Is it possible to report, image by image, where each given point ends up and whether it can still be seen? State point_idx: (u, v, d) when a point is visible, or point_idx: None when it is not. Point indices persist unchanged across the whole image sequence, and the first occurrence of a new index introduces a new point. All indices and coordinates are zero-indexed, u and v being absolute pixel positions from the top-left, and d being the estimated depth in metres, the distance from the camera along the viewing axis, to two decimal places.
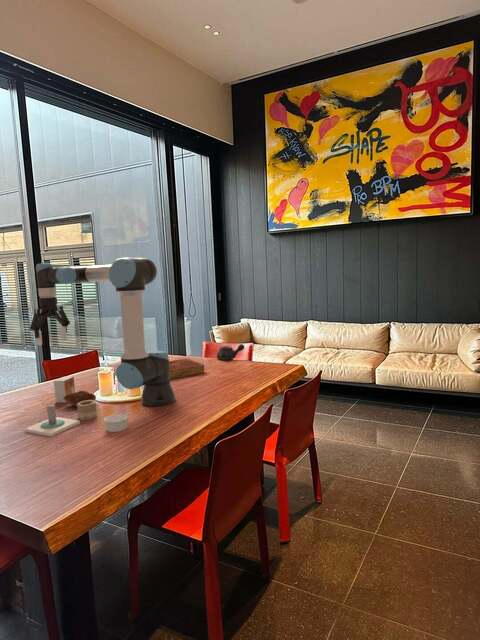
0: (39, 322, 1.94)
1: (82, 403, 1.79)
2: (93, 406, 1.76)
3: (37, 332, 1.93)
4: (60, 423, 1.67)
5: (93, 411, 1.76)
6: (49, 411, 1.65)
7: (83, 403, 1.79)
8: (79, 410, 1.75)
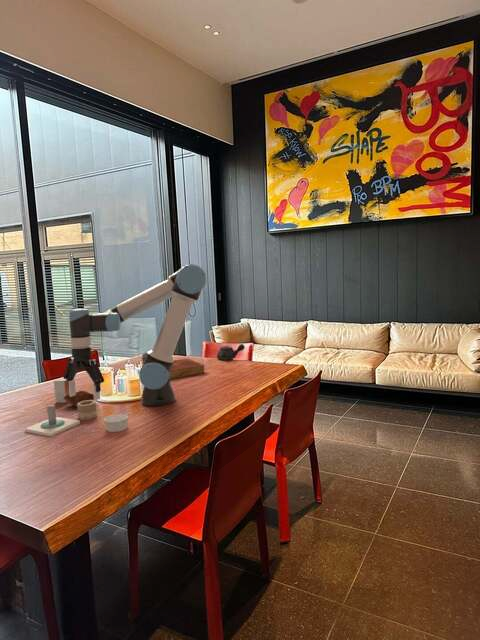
0: None
1: (82, 403, 1.79)
2: (93, 406, 1.76)
3: (68, 382, 1.79)
4: (60, 423, 1.67)
5: (93, 411, 1.76)
6: (49, 411, 1.65)
7: (83, 403, 1.79)
8: (79, 410, 1.75)
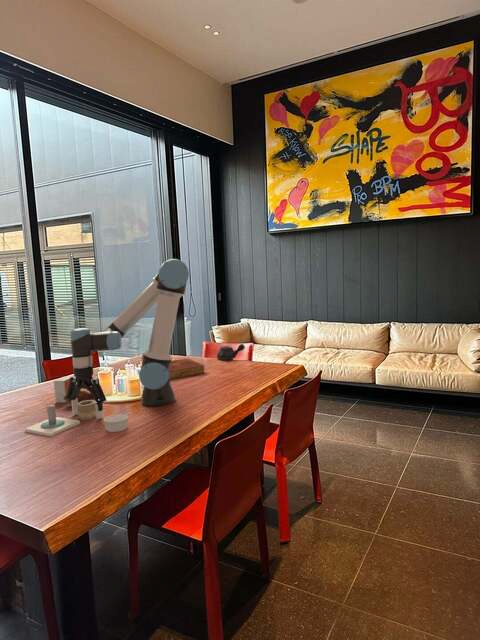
0: None
1: (82, 403, 1.79)
2: (93, 406, 1.76)
3: None
4: (60, 423, 1.67)
5: (93, 411, 1.76)
6: (49, 411, 1.65)
7: (83, 403, 1.79)
8: (79, 410, 1.75)
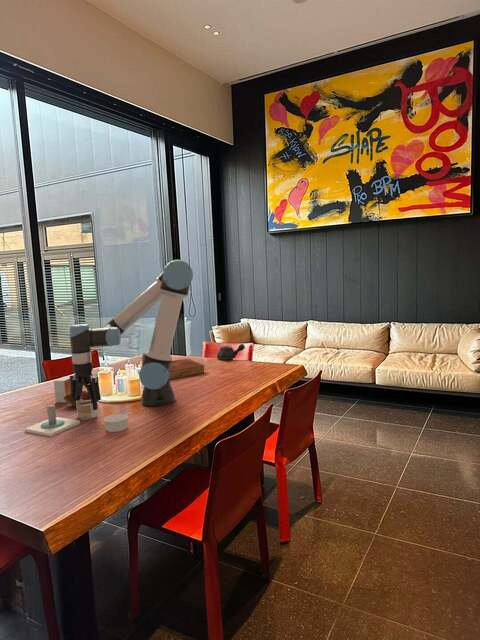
0: None
1: (82, 403, 1.79)
2: None
3: None
4: (60, 423, 1.67)
5: None
6: (49, 411, 1.65)
7: (83, 403, 1.79)
8: (79, 410, 1.75)
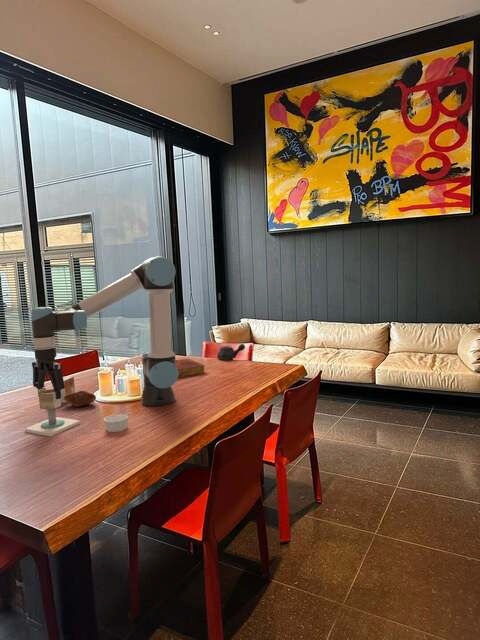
0: None
1: (45, 392, 1.67)
2: None
3: None
4: (60, 423, 1.67)
5: None
6: (49, 411, 1.65)
7: (46, 392, 1.67)
8: (40, 399, 1.63)
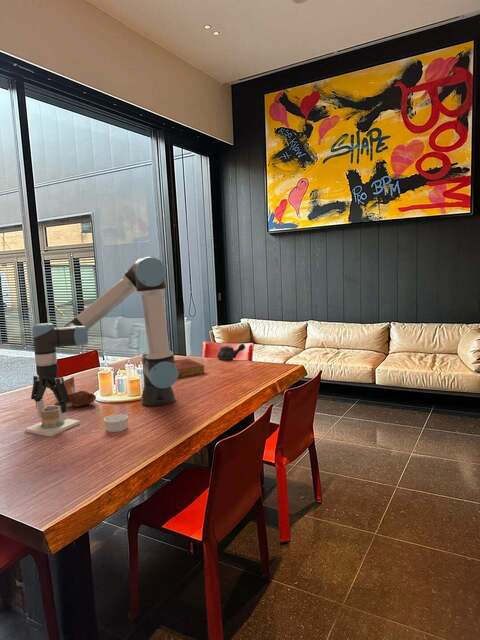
0: None
1: None
2: (58, 412, 1.65)
3: None
4: None
5: (58, 418, 1.65)
6: None
7: None
8: (43, 417, 1.64)
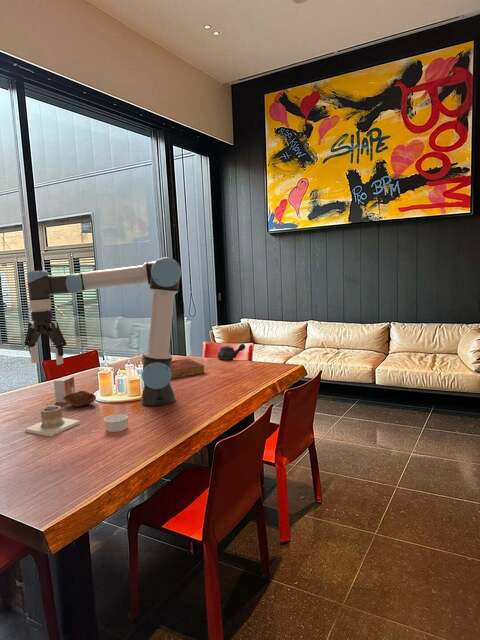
0: None
1: None
2: (58, 412, 1.65)
3: None
4: None
5: (58, 418, 1.65)
6: None
7: None
8: (43, 417, 1.64)
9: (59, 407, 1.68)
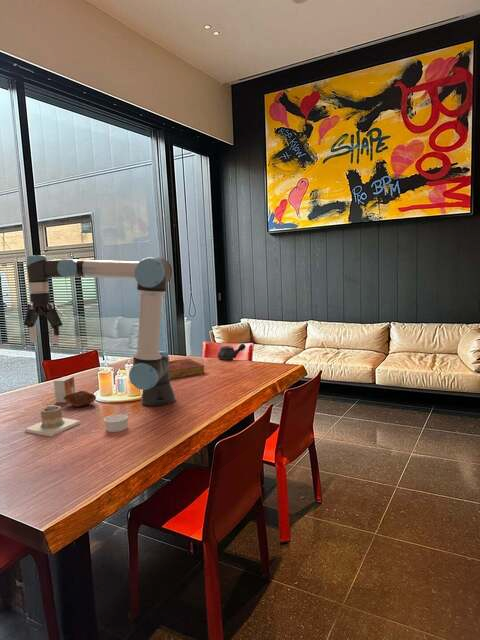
0: None
1: None
2: (58, 412, 1.65)
3: None
4: None
5: (58, 418, 1.65)
6: None
7: None
8: (43, 417, 1.64)
9: (59, 407, 1.68)
